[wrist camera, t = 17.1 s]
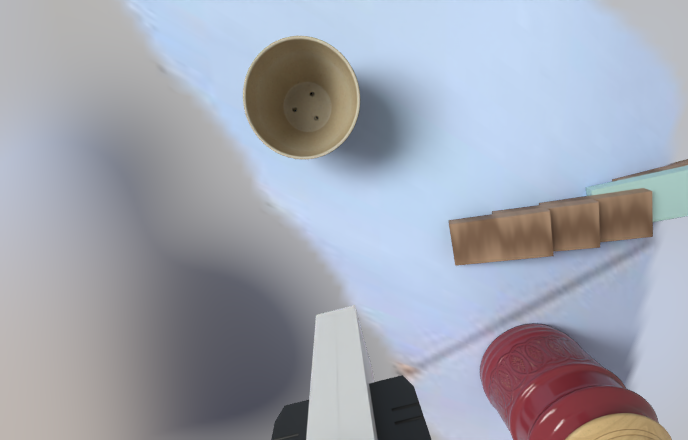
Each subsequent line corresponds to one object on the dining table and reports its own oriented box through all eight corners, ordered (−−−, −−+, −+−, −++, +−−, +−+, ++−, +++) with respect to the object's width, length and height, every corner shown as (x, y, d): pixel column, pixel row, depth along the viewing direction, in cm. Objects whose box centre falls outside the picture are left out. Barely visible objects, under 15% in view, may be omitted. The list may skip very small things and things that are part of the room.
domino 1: (449, 224, 38) (550, 211, 35) (448, 220, 39) (545, 207, 36) (455, 265, 39) (553, 255, 36) (454, 259, 40) (549, 250, 37)
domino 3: (542, 206, 38) (652, 191, 35) (538, 203, 39) (643, 187, 36) (546, 248, 39) (652, 236, 36) (542, 243, 40) (644, 231, 37)
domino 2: (494, 215, 38) (598, 202, 35) (491, 211, 39) (592, 198, 36) (498, 256, 39) (600, 247, 36) (496, 251, 41) (593, 242, 38)
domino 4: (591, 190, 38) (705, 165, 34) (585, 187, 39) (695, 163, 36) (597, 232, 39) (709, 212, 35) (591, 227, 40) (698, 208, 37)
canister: (594, 345, 44) (761, 476, 27) (537, 420, 47) (657, 584, 29) (512, 304, 42) (637, 418, 25) (458, 385, 45) (537, 538, 28)
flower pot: (362, 65, 35) (370, 48, 28) (345, 162, 37) (349, 168, 30) (265, 47, 34) (249, 24, 27) (254, 146, 37) (237, 148, 30)
